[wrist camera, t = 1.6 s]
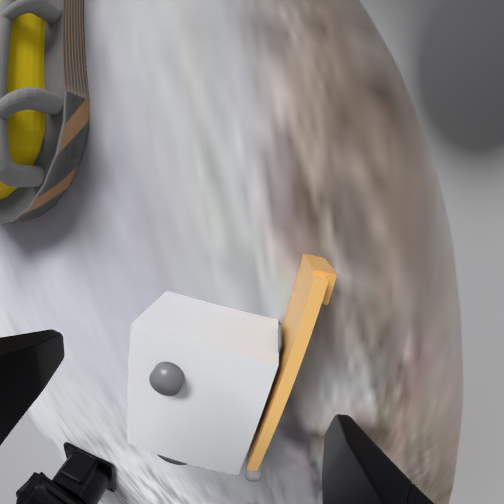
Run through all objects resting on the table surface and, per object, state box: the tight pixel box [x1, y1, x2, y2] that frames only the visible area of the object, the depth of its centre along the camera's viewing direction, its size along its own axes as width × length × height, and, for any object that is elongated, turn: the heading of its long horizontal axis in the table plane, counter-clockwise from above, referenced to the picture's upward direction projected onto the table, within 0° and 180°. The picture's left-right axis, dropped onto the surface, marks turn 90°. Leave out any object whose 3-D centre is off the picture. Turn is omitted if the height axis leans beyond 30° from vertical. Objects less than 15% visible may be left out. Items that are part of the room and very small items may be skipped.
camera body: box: [127, 291, 282, 476], centre depth 19 cm, size 12×8×7 cm, turn 167°
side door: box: [246, 254, 337, 482], centre depth 18 cm, size 15×1×6 cm, turn 167°
